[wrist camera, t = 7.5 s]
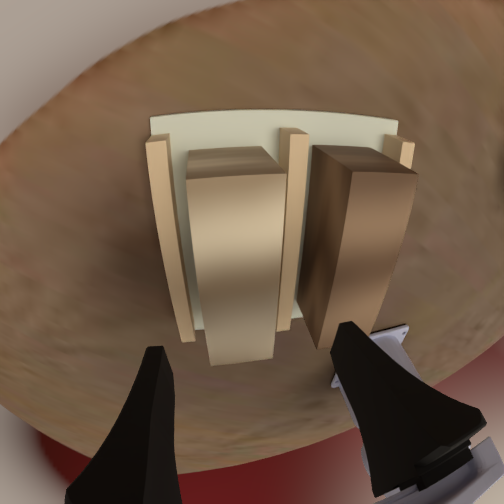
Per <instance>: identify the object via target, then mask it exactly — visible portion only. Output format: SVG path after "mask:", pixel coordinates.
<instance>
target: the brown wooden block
mask: <svg viewBox="0 0 504 504" xmlns="http://www.w3.org/2000/svg"><path fill="white" fill-rule="evenodd" d="M418 177H419V174H417V173H416V172H414V171H412V170H411V169H409V168H407V167H406V166H404V165H402V164H400V163H398V162H397V161H395V160H393V159H391V158H389V157H388V156H386V155H384V154H382V153H380V152H378V151H376V150H374V149H372V148H370V147H357V146H338V145H312V158H311V171H310V183H309V194H308V205H307V215H306V225H305V234H304V243H303V252H302V260H301V268H300V276H299V284H298V292H297V299H296V301H297V303H298V306H299V308H300V311H301V313H302V315H303V318H304V320H305V323H306V325H307V327H308V330H309V332H310V335H311V337H312V339H313V342H314V344H315V347H316V349H317V350H318V349H323V348H328V347H332V345H333V342H334V339H335V336H336V332H337V329H338V326H339V323H343V322H348V321H353V322H354V323H355V324H356V325H357V326H358V327H359V328H360V329H361V330H362V331H363V332H364V333H365V334H366V335H367V336H369V335H370V333H371V330H372V328H373V325H374V323H375V320H376V318H377V315H378V313H379V310H380V308H381V305H382V302H383V300H384V297H385V294H386V291H387V288H388V286H389V283H390V280H391V277H392V274H393V271H394V268H395V265H396V262H397V258H398V255H399V252H400V249H401V245H402V242H403V238H404V235H405V231H406V227H407V224H408V220H409V216H410V212H411V208H412V204H413V200H414V196H415V191H416V187H417V182H418Z"/></svg>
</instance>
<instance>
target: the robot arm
mask: <svg viewBox="0 0 504 504" xmlns="http://www.w3.org/2000/svg"><path fill="white" fill-rule="evenodd" d="M408 329H409V327H408V325H403V326H400V327H396V328H392V329H389V330H385V331H381V332H377V333H373V334H370V335H369V336H367V335H366V334H365V333H364V332H363V331H362V330H361V329H360V328H359V327H358V326H357V325H356V324H355V323H354V322H353V321H348V322H343V323H339V326H338V329H337V332H336V336H335V339H334V342H333V345H332V348H331V351H330V354H331V357H332V361H333V364H334V368H335V371H336V373H335V376H334V378H333V381H332V383H331V387H332V388H335V387H339V388H340V390H341V393H342V395H343V398H344V400H345V403H346V405H347V407H348V410H349V412H350V415H351V417H352V420H353V422H354V424H355V425H356V426H357V427H358V428H359V429H360V432H361V436H362V439H363V446H362V449H361V455H362V460H363V463H364V466H365V468H366V471H367V472H368V474H369V476H370V477H371V484H372V491H373V494H374V497H375V498H376V497H379V496H381V495H385V497H386V498H385V499H383V500H381V501H378V502H376V503H374V504H473V503H475V502H476V500H478V499H479V498H480V496H482V495H483V494H484V493H485V492H486V491H487V490H488V489H489V488H490V487H491V486H492V485H493V484H495V483H496V482H497V481H498V480H499V479H500V478H501V477H502V476H503V475H504V464H503V462H502V460H501V457H500V455H499V453H498V451H497V449H496V447H495V445H494V443H493V441H492V439H491V437H487V438H486V439H485V440H483V441H482V442H481V443H479V444H478V445H477V446H475V447H474V448H472V449H471V450H470V447H471V442H470V440H469V439H470V438H471V437H472V436H473V435H475V434H476V433H477V432H479V431H480V430H481V429H482V428H483V427H485V426H486V424H487V422H486V420H485V418H484V417H483V415H482V413H481V411H480V410H479V409H478V408H475V407H472V406H469V405H467V404H464V403H461V402H459V401H457V400H454V399H452V398H450V397H448V396H446V395H444V394H442V393H441V392H439V391H437V390H435V389H433V388H432V387H430V386H428V385H427V384H425V383H424V382H423V381H422V379H421V377H420V375H419V374H418V372H417V370H416V369H415V367H414V365H413V364H412V362H411V360H410V359H409V357H408V355H407V354H406V352H405V350H404V349H403V347H402V345H401V343H402V341H403V339H404V337H405V335H406V333H407V331H408ZM174 409H175V392H174V379H173V372H172V370H171V367H170V364H169V361H168V358H167V356H166V353H165V350H164V347H163V346H150V347H147V348H146V351H145V354H144V357H143V360H142V363H141V366H140V369H139V371H138V374H137V377H136V379H135V381H134V384H133V386H132V389H131V391H130V393H129V396H128V398H127V400H126V402H125V404H124V406H123V408H122V410H121V413H120V415H119V416H118V418H117V420H116V422H115V424H114V426H113V427H112V429H111V431H110V433H109V434H108V436H107V438H106V439H105V441H104V442H103V444H102V445H101V447H100V448H99V450H98V451H97V453H96V454H95V456H94V457H93V458H92V460H91V461H90V462H89V464H88V465H87V466H86V467H85V469H84V470H83V471H82V472H81V474H80V475H79V476H78V477H77V478H76V479H75V480H74V482H72V484H71V485H70V486H69V487H68V488H67V489H66V495H65V504H182V500H181V494H180V489H179V483H178V476H177V470H176V462H175V453H174Z"/></svg>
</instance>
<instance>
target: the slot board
mask: <svg viewBox="0 0 504 504" xmlns="http://www.w3.org/2000/svg"><path fill="white" fill-rule="evenodd" d="M150 124H151V137H150V138H149V139H148V140H147V142H146V143H145V144H146V153H147V162H148V170H149V178H150V185H151V192H152V199H153V206H154V212H155V218H156V224H157V230H158V236H159V241H160V247H161V252H162V257H163V262H164V267H165V272H166V277H167V282H168V286H169V291H170V295H171V300H172V304H173V308H174V313H175V317H176V321H177V325H178V329H179V333H180V337H181V341H182V342H192V341H195V330H201V329H204V323H203V317H202V311H201V304H200V297H199V291H198V283H197V276H196V269H195V261H194V253H193V245H192V237H191V228H190V219H189V209H188V199H187V188H186V172H187V162H188V153H189V150H197V149H209V148H225V147H245V146H262V147H263V148H264V149H265V150H266V151H267V153H268V154H269V155H270V156H271V157H272V158H273V159H274V160H275V161H276V162H277V163H278V165H279V166H280V167H281V168H282V169H283V170H284V171H285V172H286V192H285V210H284V225H283V240H282V255H281V268H280V281H279V294H278V306H277V317H276V331H277V332H278V331H284V330H290V323H291V319H292V318H299V317H303V315H302V313H301V311H300V308H299V306H298V303H297V301H296V299H297V292H298V284H299V276H300V268H301V260H302V252H303V243H304V234H305V225H306V215H307V205H308V194H309V183H310V171H311V158H312V145H338V146H357V147H370V148H372V149H374V150H376V151H378V152H380V153H382V154H384V155H386V156H388V157H389V158H391V159H393V160H395V161H397V162H398V163H400V164H402V165H404V166H406V167H407V168H409V169H411V164H412V158H413V152H414V146H415V143H413V142H411V141H409V140H406V139H404V138H402V137H399V136H397V128H398V121H397V120H394V119H388V118H381V117H374V116H367V115H358V114H349V113H339V112H327V111H312V110H290V109H235V110H213V111H198V112H186V113H176V114H167V115H158V116H151V117H150Z"/></svg>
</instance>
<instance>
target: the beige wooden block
mask: <svg viewBox="0 0 504 504" xmlns="http://www.w3.org/2000/svg"><path fill="white" fill-rule="evenodd" d="M186 188H187V199H188V209H189V219H190V228H191V237H192V245H193V253H194V261H195V269H196V276H197V283H198V291H199V297H200V304H201V311H202V317H203V323H204V330H205V336H206V342H207V347H208V353H209V359H210V364H211V366H216V365H225V364H234V363H242V362H250V361H257V360H264V359H270V358H273V350H274V339H275V328H276V317H277V306H278V294H279V281H280V268H281V255H282V240H283V225H284V210H285V192H286V172H285V171H284V170H283V169H282V168H281V167H280V166H279V165H278V163H277V162H276V161H275V160H274V159H273V158H272V157H271V156H270V155H269V154H268V153H267V151H266V150H265V149H264V148H263V147H262V146H245V147H225V148H209V149H197V150H189V153H188V162H187V172H186Z"/></svg>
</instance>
